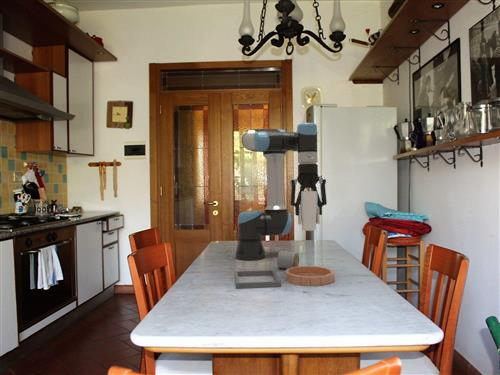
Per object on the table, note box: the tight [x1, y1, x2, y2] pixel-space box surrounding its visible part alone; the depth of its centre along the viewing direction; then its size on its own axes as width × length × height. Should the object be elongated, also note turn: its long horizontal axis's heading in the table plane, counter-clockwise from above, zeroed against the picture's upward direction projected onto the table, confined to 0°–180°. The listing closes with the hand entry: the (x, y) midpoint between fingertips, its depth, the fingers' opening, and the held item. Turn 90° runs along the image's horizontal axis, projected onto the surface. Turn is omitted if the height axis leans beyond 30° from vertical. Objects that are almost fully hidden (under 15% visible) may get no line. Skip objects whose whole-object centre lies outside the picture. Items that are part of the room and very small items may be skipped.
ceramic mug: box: [276, 250, 300, 270], centre depth 163 cm, size 11×8×8 cm
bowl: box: [284, 265, 335, 287], centre depth 143 cm, size 18×18×3 cm
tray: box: [234, 269, 282, 289], centre depth 142 cm, size 18×16×2 cm
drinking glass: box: [299, 190, 319, 232], centre depth 143 cm, size 7×7×15 cm
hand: (308, 223), depth 143 cm, fingers closed on drinking glass, 6 cm apart
